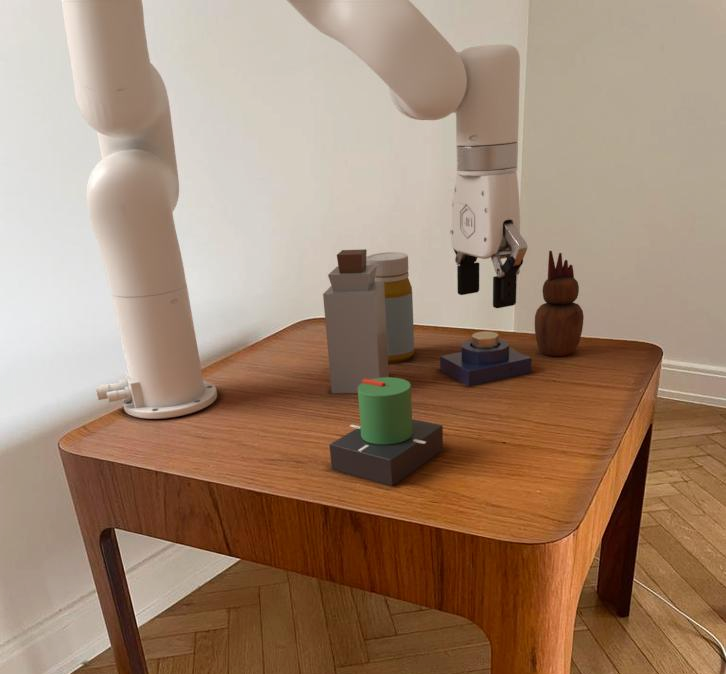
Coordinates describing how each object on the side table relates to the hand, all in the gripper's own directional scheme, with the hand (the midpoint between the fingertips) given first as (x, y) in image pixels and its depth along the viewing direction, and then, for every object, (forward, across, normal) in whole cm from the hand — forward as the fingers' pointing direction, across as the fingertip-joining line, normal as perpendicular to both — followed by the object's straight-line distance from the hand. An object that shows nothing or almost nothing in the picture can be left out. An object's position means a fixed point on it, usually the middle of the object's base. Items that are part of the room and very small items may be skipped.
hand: (485, 299), depth 101 cm
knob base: (+10, +19, -24) cm, 32 cm away
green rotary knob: (+7, +19, -24) cm, 31 cm away
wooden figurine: (+10, -1, +13) cm, 17 cm away
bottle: (+10, -14, -8) cm, 19 cm away
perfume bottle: (+10, -5, -17) cm, 21 cm away
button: (+7, 0, 0) cm, 7 cm away
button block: (+10, 0, 0) cm, 10 cm away
